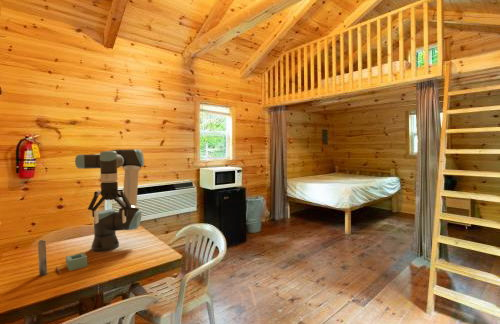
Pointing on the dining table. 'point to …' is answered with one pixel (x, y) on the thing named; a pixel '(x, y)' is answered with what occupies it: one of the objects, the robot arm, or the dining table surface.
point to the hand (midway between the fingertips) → (110, 222)
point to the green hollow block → (76, 261)
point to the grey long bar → (42, 257)
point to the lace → (58, 270)
